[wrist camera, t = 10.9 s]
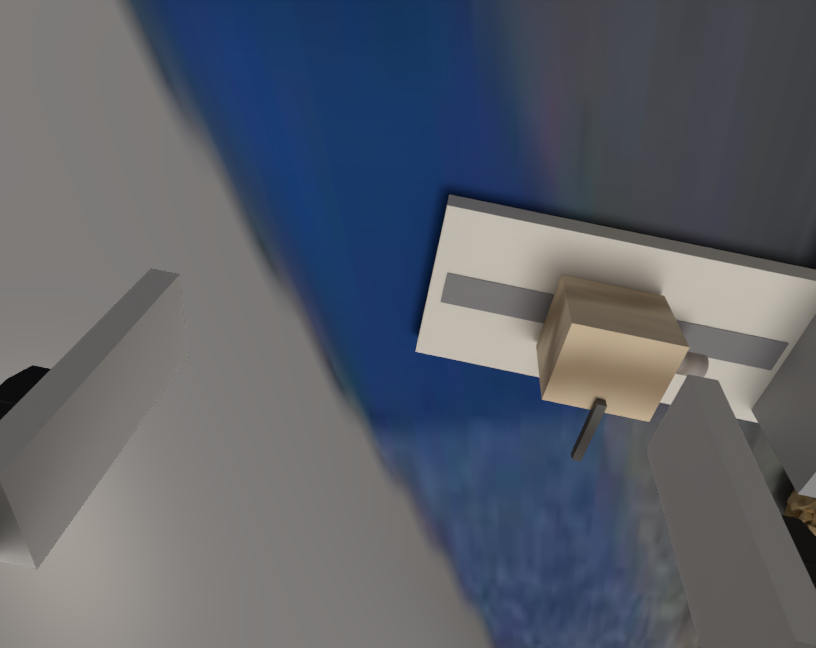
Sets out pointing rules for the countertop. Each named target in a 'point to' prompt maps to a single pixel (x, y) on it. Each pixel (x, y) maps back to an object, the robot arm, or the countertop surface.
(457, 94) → the countertop surface
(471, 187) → the countertop surface
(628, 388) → the gauge carriage
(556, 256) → the bench
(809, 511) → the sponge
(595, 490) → the countertop surface
